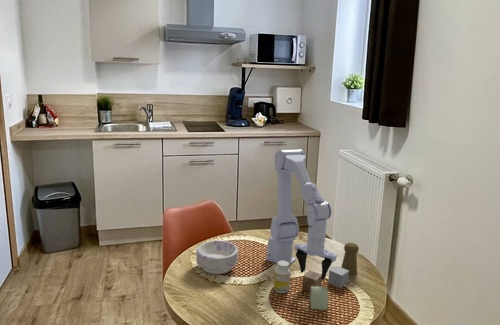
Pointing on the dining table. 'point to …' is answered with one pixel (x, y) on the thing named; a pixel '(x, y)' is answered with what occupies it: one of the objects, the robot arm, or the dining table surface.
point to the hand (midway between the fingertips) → (313, 274)
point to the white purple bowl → (217, 256)
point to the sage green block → (319, 298)
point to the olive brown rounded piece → (350, 258)
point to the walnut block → (311, 280)
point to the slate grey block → (338, 276)
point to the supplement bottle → (282, 277)
